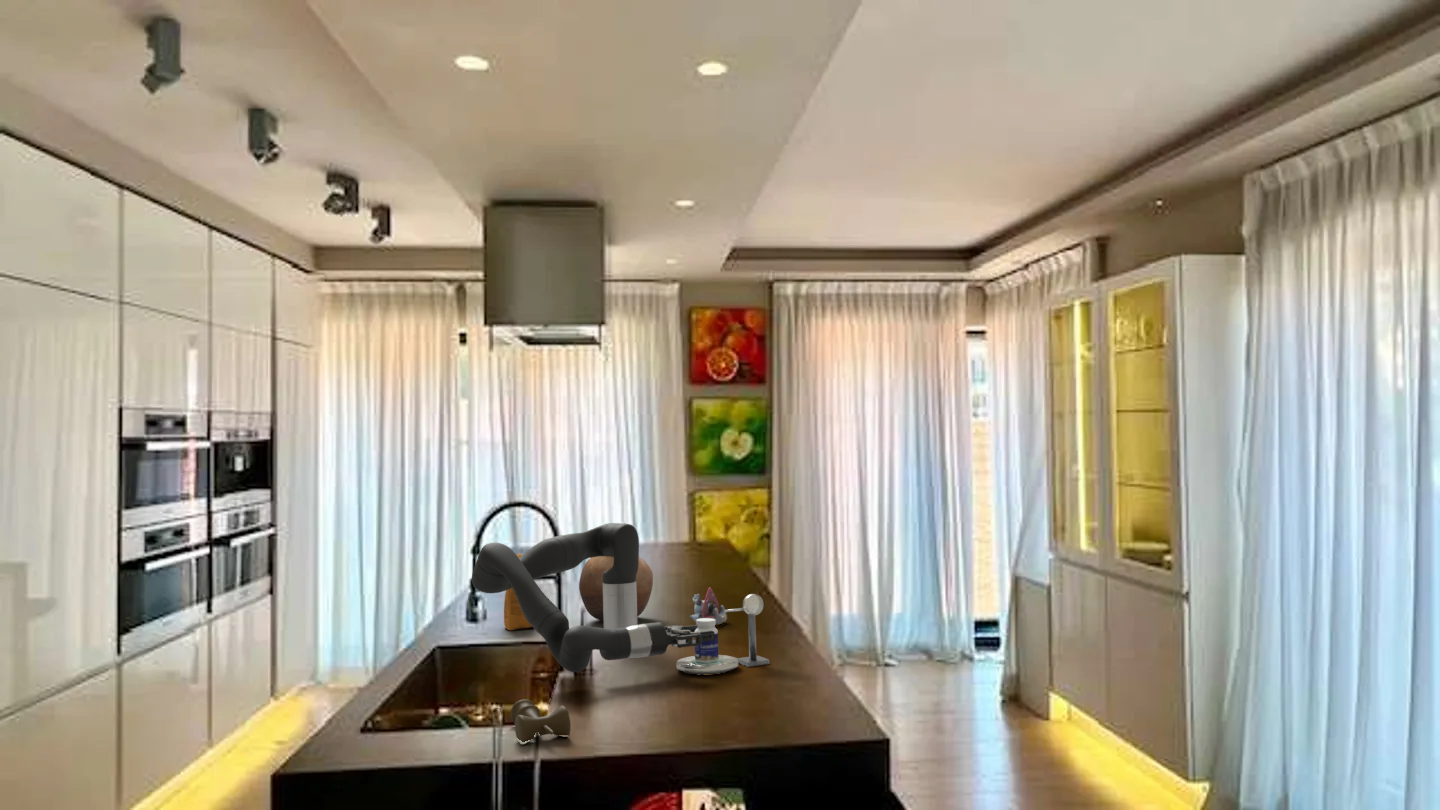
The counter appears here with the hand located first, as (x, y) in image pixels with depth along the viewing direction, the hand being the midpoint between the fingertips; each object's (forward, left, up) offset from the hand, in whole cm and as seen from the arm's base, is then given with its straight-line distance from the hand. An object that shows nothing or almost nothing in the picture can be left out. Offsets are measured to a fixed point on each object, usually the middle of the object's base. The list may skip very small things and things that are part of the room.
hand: (705, 632), depth 240 cm
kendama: (+30, -51, -10) cm, 60 cm away
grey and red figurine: (-54, +27, -9) cm, 61 cm away
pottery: (-75, +5, -9) cm, 76 cm away
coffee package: (-84, -23, -9) cm, 88 cm away
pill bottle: (0, 0, -7) cm, 7 cm away
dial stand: (0, +11, -9) cm, 14 cm away
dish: (0, 0, -9) cm, 9 cm away
